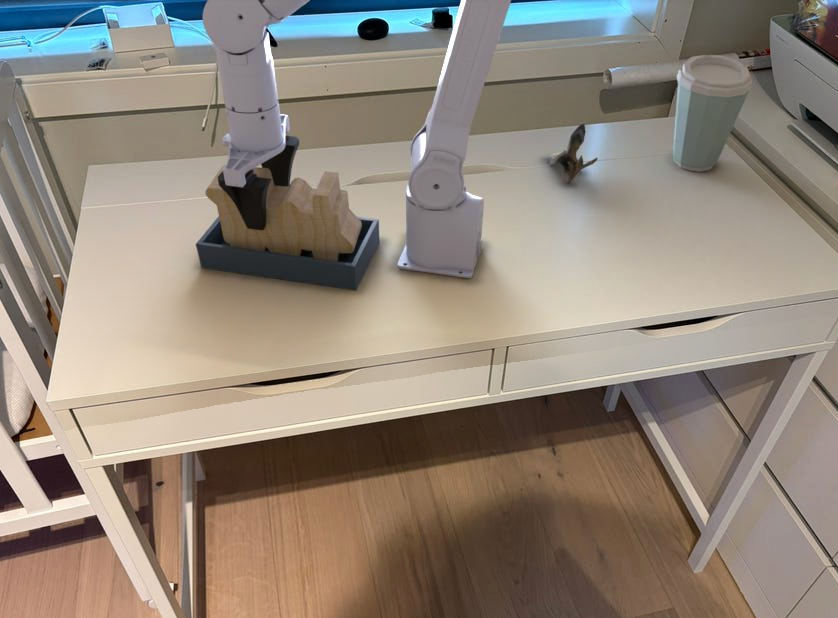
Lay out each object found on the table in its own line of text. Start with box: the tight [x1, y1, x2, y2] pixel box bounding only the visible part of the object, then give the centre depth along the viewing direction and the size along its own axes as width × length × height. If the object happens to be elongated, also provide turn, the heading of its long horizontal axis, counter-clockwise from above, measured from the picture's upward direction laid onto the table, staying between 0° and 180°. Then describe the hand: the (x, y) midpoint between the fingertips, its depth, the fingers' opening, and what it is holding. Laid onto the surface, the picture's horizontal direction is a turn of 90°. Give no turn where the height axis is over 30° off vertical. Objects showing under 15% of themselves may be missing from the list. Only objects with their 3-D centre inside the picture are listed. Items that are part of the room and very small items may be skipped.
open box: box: [195, 215, 380, 291], centre depth 91 cm, size 20×11×4 cm, turn 79°
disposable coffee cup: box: [672, 54, 753, 172], centre depth 109 cm, size 11×11×15 cm
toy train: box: [204, 164, 362, 261], centre depth 88 cm, size 6×17×10 cm, turn 85°
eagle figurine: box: [544, 123, 599, 185], centre depth 109 cm, size 8×7×9 cm
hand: (268, 211), depth 88 cm, fingers open, 7 cm apart
